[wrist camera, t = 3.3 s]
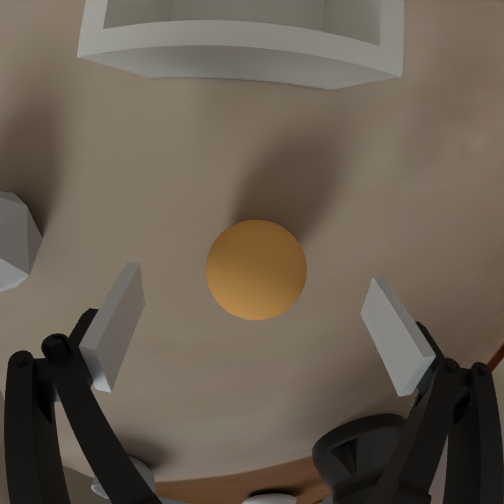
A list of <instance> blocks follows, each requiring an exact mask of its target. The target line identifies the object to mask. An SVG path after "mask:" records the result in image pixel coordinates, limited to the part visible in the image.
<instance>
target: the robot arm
mask: <svg viewBox="0 0 504 504" xmlns="http://www.w3.org/2000/svg"><path fill="white" fill-rule="evenodd" d="M144 305H145V301H144V294H143V286H142V277H141V268H140V263H128V262H127V264H126V265H125V267H124V268H123V270H122V272H121V273H120V275H119V276H118V278H117V280H116V281H115V283H114V285H113V286H112V288H111V290H110V291H109V293H108V295H107V296H106V298H105V300H104V301H103V303H102V305H101V307H100V308H99V309H92V308H90V309H88V310H87V311H86V312H85V313H83V314H82V316H81V317H80V319H79V321H78V323H77V324H76V326H75V329H73V331H72V333H71V334H70V336H69V338H68V337H67V336H66V335H64V334H59V333H57V334H52V335H50V336H48V337H47V338H46V339H44V340H43V342H42V345H41V349H42V352H43V354H44V356H45V358H39V359H34V358H33V356H32V354H31V353H30V352H28V351H24V350H21V351H18V352H16V353H14V354H13V355H12V356H11V357H10V359H9V362H8V369H7V379H6V391H5V412H4V442H5V443H4V444H5V462H6V474H7V484H8V491H9V498H10V504H71V503H70V499H69V495H68V491H67V486H66V482H65V477H64V472H63V467H62V462H61V456H60V450H59V443H58V436H57V428H56V419H55V409H54V402H62V405H63V408H64V410H65V413H66V415H67V418H68V420H69V422H70V425H71V427H72V429H73V432H74V434H75V436H76V438H77V440H78V442H79V445H80V447H81V449H82V451H83V453H84V455H85V457H86V459H87V461H88V463H89V464H90V466H91V468H92V470H93V472H94V474H95V476H96V477H97V479H98V481H99V483H100V484H101V486H102V488H103V489H104V491H105V493H106V494H107V496H108V498H109V499H110V501H111V502H112V504H162V503H161V501H160V500H159V499H158V497H157V496H156V495H155V494H154V492H153V491H152V490H151V488H150V487H149V486H148V484H147V483H146V482H145V480H144V479H143V477H142V476H141V474H140V473H139V472H138V470H137V469H136V467H135V466H134V464H133V463H132V461H131V460H130V458H129V457H128V455H127V453H126V452H125V450H124V449H123V447H122V445H121V444H120V442H119V441H118V439H117V437H116V435H115V434H114V432H113V430H112V429H111V427H110V425H109V423H108V422H107V420H106V418H105V416H104V414H103V412H102V410H101V409H100V407H99V405H98V403H97V401H96V399H95V397H94V395H93V393H92V391H91V389H90V388H91V385H92V383H94V385H95V388H96V389H97V390H101V391H106V392H111V393H112V390H113V387H114V384H115V381H116V378H117V376H118V373H119V370H120V367H121V364H122V362H123V359H124V356H125V353H126V351H127V348H128V345H129V343H130V340H131V338H132V335H133V332H134V330H135V327H136V325H137V322H138V320H139V317H140V315H141V312H142V310H143V308H144ZM361 316H362V318H363V320H364V322H365V324H366V327H367V329H368V331H369V333H370V335H371V337H372V339H373V341H374V343H375V345H376V347H377V350H378V352H379V354H380V356H381V358H382V360H383V362H384V365H385V367H386V369H387V371H388V374H389V376H390V378H391V380H392V383H393V385H394V387H395V389H396V392H397V394H398V396H399V397H400V396H406V395H411V394H412V393H413V391H414V390H415V388H416V387H417V388H418V390H419V393H418V395H417V396H416V398H415V399H414V400H413V402H412V403H411V404H410V406H412V405H413V407H412V409H411V412H410V414H409V417H408V419H407V422H405V420H404V418H402V417H401V416H398V415H378V416H373V417H369V418H365V419H361V420H358V421H355V422H352V423H350V424H347V425H345V426H342V427H340V428H338V429H336V430H334V431H332V432H331V433H329V434H327V435H326V436H324V437H323V438H322V439H320V440H319V441H318V442H317V443H316V444H315V445H314V447H313V449H312V456H313V461H314V465H315V467H316V469H317V470H318V472H319V474H320V475H321V477H322V478H323V480H324V482H325V483H326V485H327V486H328V488H329V489H330V491H331V493H332V498H333V503H334V504H430V502H431V495H429V494H428V492H429V489H430V486H431V483H432V481H433V478H434V475H435V472H436V470H437V467H438V464H439V461H440V458H441V455H442V452H443V448H444V445H445V441H446V438H447V434H448V454H447V469H446V481H445V490H444V498H443V504H504V462H503V446H502V435H501V426H500V419H499V411H498V405H497V399H496V393H495V388H494V383H493V378H492V373H491V370H490V369H489V367H488V366H487V365H485V364H484V363H481V362H476V363H474V364H473V366H472V367H471V368H470V369H466V368H460V366H459V364H458V363H457V362H456V361H454V360H453V359H450V358H445V357H444V355H443V354H442V352H441V350H440V349H439V347H438V346H437V344H436V343H435V341H433V338H432V337H431V335H430V333H429V332H428V330H427V329H426V327H424V326H423V325H422V324H421V323H420V322H415V321H414V320H413V318H412V317H411V315H410V314H409V312H408V311H407V309H406V308H405V307H404V305H403V304H402V302H401V301H400V299H399V298H398V296H397V295H396V293H395V292H394V291H393V289H392V288H391V286H390V285H389V283H388V282H387V281H386V279H385V278H384V277H373V278H372V281H371V284H370V287H369V290H368V293H367V296H366V299H365V302H364V305H363V308H362V311H361Z"/></svg>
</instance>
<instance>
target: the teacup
mask: <svg viewBox="0 0 504 504" xmlns="http://www.w3.org/2000/svg"><path fill="white" fill-rule="evenodd" d="M128 457H129V458H130V460H131V461H132V463H133V464H134V466H135V467H136V469H137V470H138V472H139V473H140V474H141V476H142V477H143V479H144V480H145V482H146V483H147V484H148V486H149V487H150V488H151V490H152V491H153V492H154V493H155V478H154V475H153V473H152V471H151V470H150V469H149V468H148V467H147V466H146V465H145V464H144V463H143V462H141V461H140V460H138V459H136V458H133V457H130V456H128ZM91 488H92V490H93V491H94V492H96V493H97V494H99V495H101V496H103V497H105V498H107V499H109V498H108V496H107V494H106V493H105V491H104V489H103V488H102V486H101V484H100V483H99V481H98V479H97V477H96V476H95V475H94V480H93V484H92V486H91ZM109 500H110V499H109Z"/></svg>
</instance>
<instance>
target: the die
mask: <svg viewBox="0 0 504 504" xmlns="http://www.w3.org/2000/svg"><path fill="white" fill-rule="evenodd" d="M42 239H43V238H42V236H41V234H40V232H39V230H38V228H37V226H36V224H35V222H34V220H33V218H32V215H31V213H30V211H29V209H28V207H27V205H26V204H25V203H24V202H23V201H22V200H21V199H20V198H19V197H17V196H16V195H15V194H14V193H11V192H3V191H0V292H1V291H4V290H8V289H11V288H14V287H17V286H18V285H19V284H20V283H21V282H22V281H23V280H24V279H25V278H27V277H28V276H29V275H30V272H31V269H32V266H33V263H34V260H35V257H36V255H37V252H38V249H39V247H40V244H41V241H42Z"/></svg>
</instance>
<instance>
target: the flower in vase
mask: <svg viewBox="0 0 504 504" xmlns="http://www.w3.org/2000/svg"><path fill="white" fill-rule="evenodd" d="M296 501H297V499H296V498H295V497H294V496H292V495H288V494H280V493H272V494H262V495H257V496H253V497H250V498H248V499H246V500H245V501H244V502H243V504H296Z"/></svg>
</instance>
